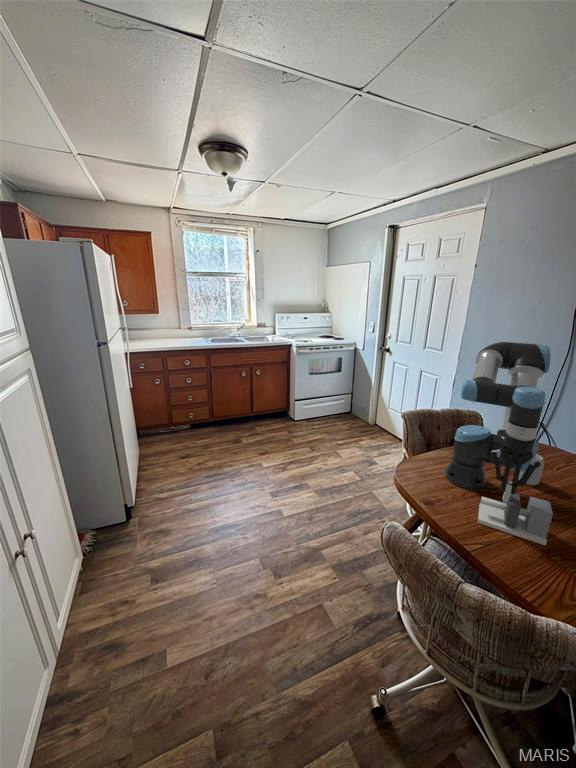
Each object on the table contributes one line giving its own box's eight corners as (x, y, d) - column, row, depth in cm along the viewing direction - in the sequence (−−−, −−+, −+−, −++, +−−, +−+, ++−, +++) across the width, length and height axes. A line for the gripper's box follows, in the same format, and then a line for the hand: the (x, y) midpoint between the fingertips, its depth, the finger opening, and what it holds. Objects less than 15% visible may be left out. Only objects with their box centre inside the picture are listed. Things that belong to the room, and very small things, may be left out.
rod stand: (477, 522, 103) (483, 496, 100) (479, 506, 111) (484, 481, 108) (545, 545, 93) (553, 517, 90) (541, 525, 101) (549, 499, 98)
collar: (504, 524, 99) (509, 504, 97) (504, 510, 106) (508, 491, 103) (515, 528, 98) (520, 507, 95) (514, 513, 104) (519, 494, 102)
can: (511, 476, 129) (517, 451, 125) (528, 475, 129) (534, 450, 126) (526, 487, 121) (533, 460, 118) (543, 486, 122) (550, 459, 119)
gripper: (494, 435, 95) (482, 499, 101) (548, 446, 88) (530, 514, 94) (495, 427, 101) (483, 488, 107) (545, 436, 94) (529, 501, 100)
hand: (505, 500), depth 101 cm, fingers closed
